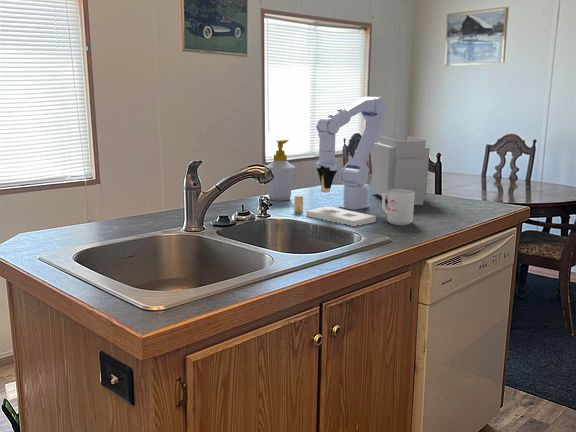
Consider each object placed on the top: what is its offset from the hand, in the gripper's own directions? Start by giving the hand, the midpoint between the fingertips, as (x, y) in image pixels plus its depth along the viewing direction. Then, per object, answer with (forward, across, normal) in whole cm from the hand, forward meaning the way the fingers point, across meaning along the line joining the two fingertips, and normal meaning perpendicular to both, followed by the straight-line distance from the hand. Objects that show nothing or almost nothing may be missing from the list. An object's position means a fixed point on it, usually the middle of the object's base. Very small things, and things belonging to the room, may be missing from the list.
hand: (325, 187), depth 205 cm
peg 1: (+10, -3, -10) cm, 14 cm away
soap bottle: (+10, -29, -10) cm, 32 cm away
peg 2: (+2, 0, 0) cm, 2 cm away
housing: (+9, +11, +2) cm, 15 cm away
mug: (+10, +20, +19) cm, 29 cm away
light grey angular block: (+10, -21, +41) cm, 47 cm away
